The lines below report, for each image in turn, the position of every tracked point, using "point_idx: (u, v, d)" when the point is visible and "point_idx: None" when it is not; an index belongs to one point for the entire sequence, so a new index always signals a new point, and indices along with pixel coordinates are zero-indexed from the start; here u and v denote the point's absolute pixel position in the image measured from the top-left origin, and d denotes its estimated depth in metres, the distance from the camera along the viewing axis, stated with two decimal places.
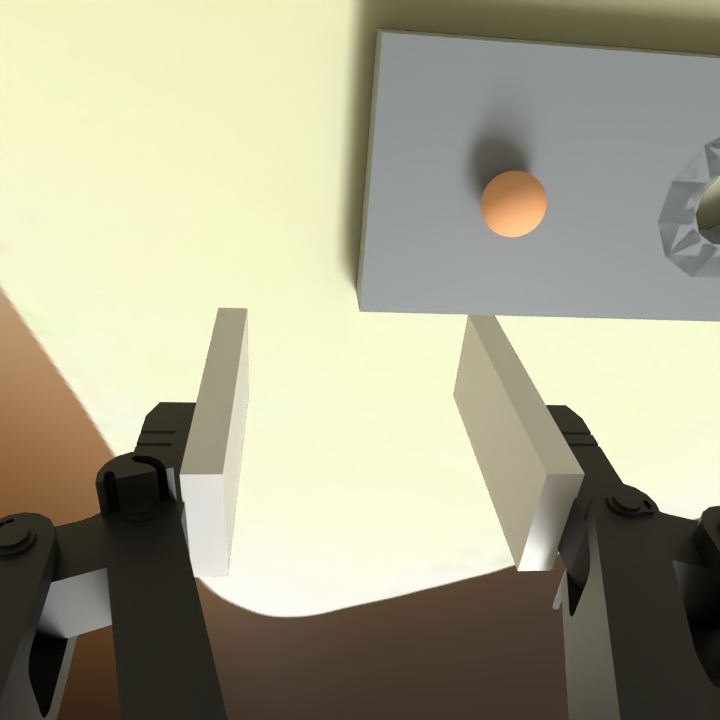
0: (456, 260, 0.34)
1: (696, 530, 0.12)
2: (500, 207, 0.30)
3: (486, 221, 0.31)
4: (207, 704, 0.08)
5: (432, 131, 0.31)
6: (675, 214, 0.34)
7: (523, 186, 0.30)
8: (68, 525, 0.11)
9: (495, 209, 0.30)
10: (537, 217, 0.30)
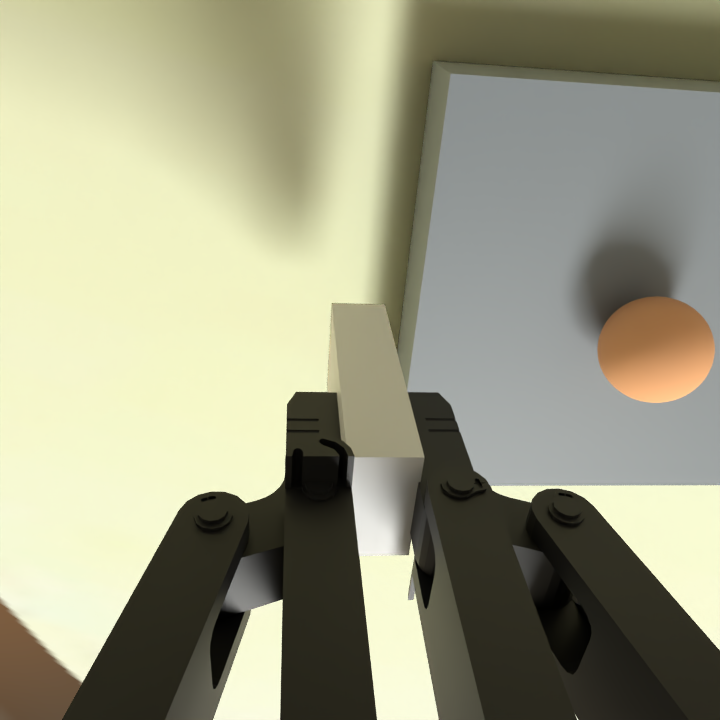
0: (545, 416, 0.22)
1: (529, 519, 0.11)
2: (642, 365, 0.18)
3: (610, 378, 0.19)
4: (359, 685, 0.08)
5: (524, 233, 0.18)
6: None
7: (683, 332, 0.18)
8: (247, 504, 0.12)
9: (632, 367, 0.18)
10: (702, 379, 0.18)
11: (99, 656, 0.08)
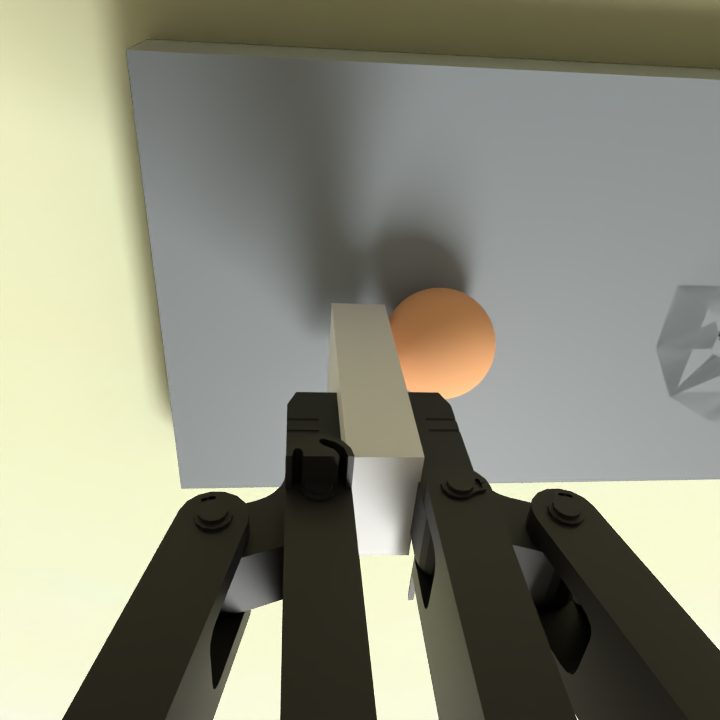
0: None
1: (529, 519, 0.11)
2: (446, 369, 0.17)
3: (412, 388, 0.18)
4: (359, 684, 0.08)
5: (252, 220, 0.17)
6: (685, 334, 0.21)
7: (472, 323, 0.17)
8: (247, 504, 0.12)
9: (437, 374, 0.17)
10: (492, 360, 0.18)
11: (99, 656, 0.08)
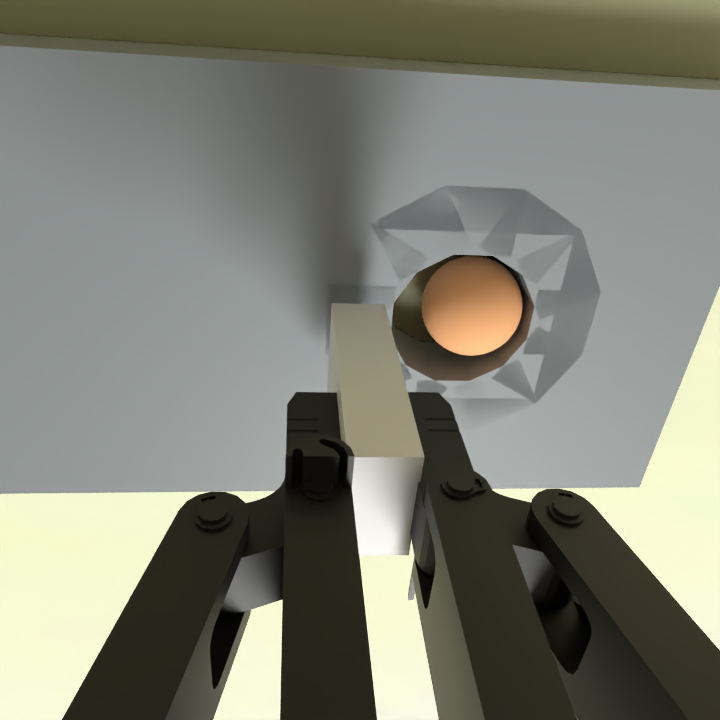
0: None
1: (529, 519, 0.11)
2: None
3: None
4: (358, 685, 0.08)
5: None
6: None
7: None
8: (247, 504, 0.12)
9: None
10: None
11: (99, 656, 0.08)
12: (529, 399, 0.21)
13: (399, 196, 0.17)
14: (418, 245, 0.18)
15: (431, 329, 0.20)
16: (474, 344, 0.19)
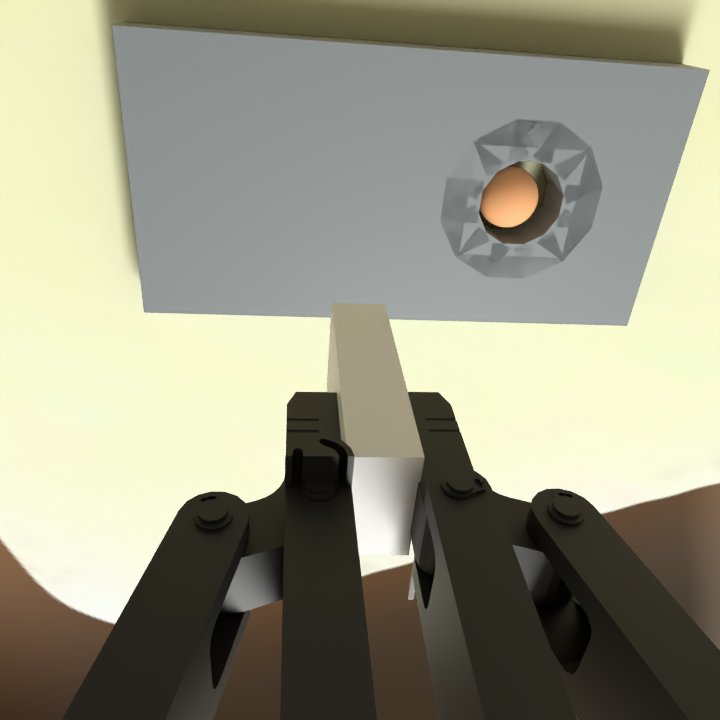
0: (235, 260, 0.34)
1: (529, 519, 0.11)
2: None
3: (535, 203, 0.33)
4: (358, 685, 0.08)
5: (184, 127, 0.30)
6: (457, 212, 0.33)
7: None
8: (247, 504, 0.12)
9: None
10: None
11: (98, 657, 0.08)
12: (558, 258, 0.35)
13: (490, 125, 0.31)
14: (499, 155, 0.32)
15: None
16: (493, 212, 0.33)
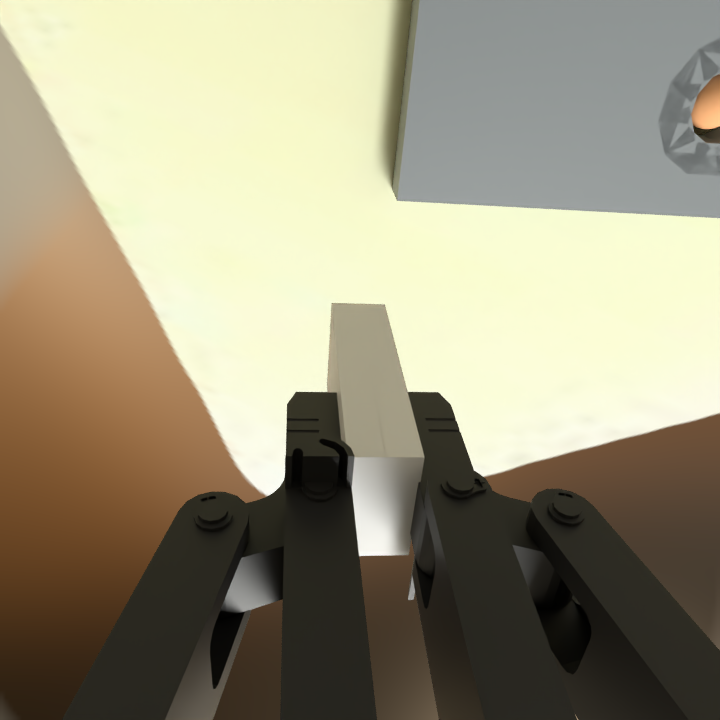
0: (482, 153, 0.39)
1: (529, 519, 0.11)
2: None
3: None
4: (358, 685, 0.08)
5: (465, 31, 0.36)
6: (673, 113, 0.39)
7: None
8: (247, 504, 0.12)
9: None
10: None
11: (98, 657, 0.08)
12: None
13: (715, 34, 0.37)
14: (717, 61, 0.38)
15: None
16: (701, 113, 0.39)
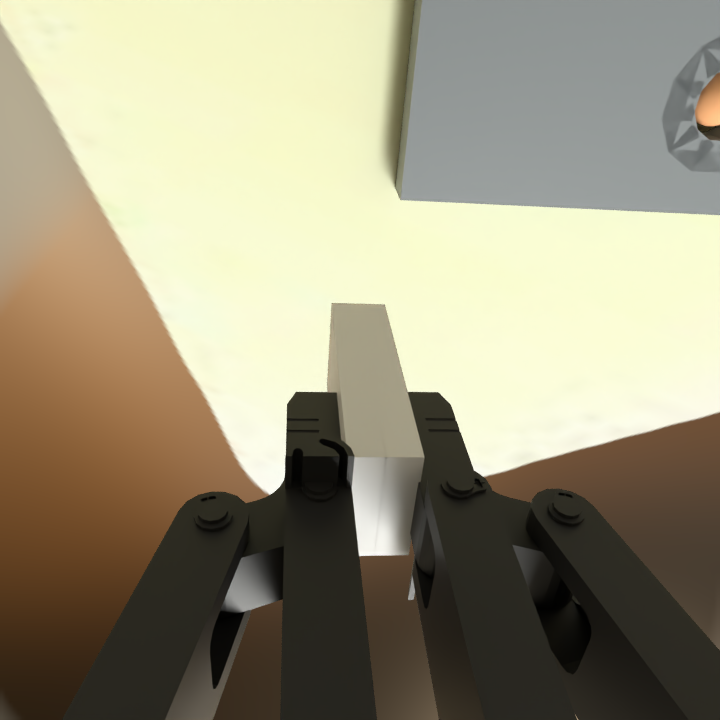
0: (485, 152, 0.39)
1: (529, 519, 0.11)
2: None
3: None
4: (358, 685, 0.08)
5: (468, 30, 0.36)
6: (677, 111, 0.39)
7: None
8: (247, 504, 0.12)
9: None
10: None
11: (99, 656, 0.08)
12: None
13: (718, 31, 0.37)
14: None
15: None
16: (705, 110, 0.39)
